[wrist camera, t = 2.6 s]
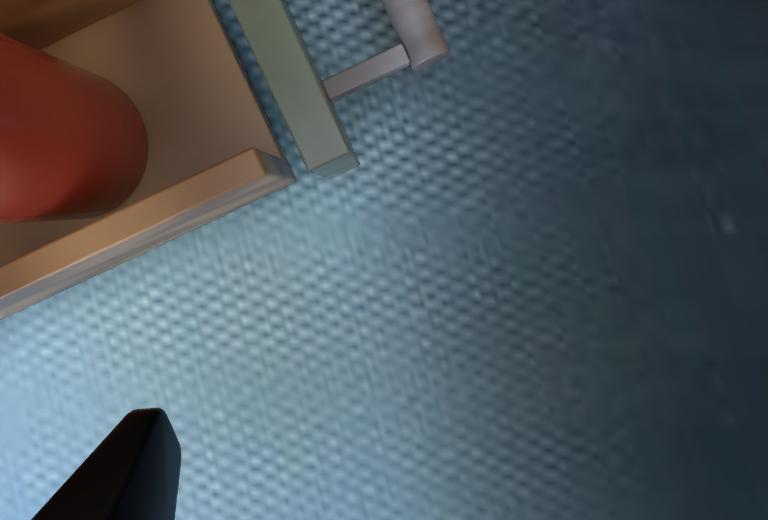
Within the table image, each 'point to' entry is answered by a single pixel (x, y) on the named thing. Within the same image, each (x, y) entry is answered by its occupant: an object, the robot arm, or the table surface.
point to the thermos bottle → (63, 139)
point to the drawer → (190, 119)
